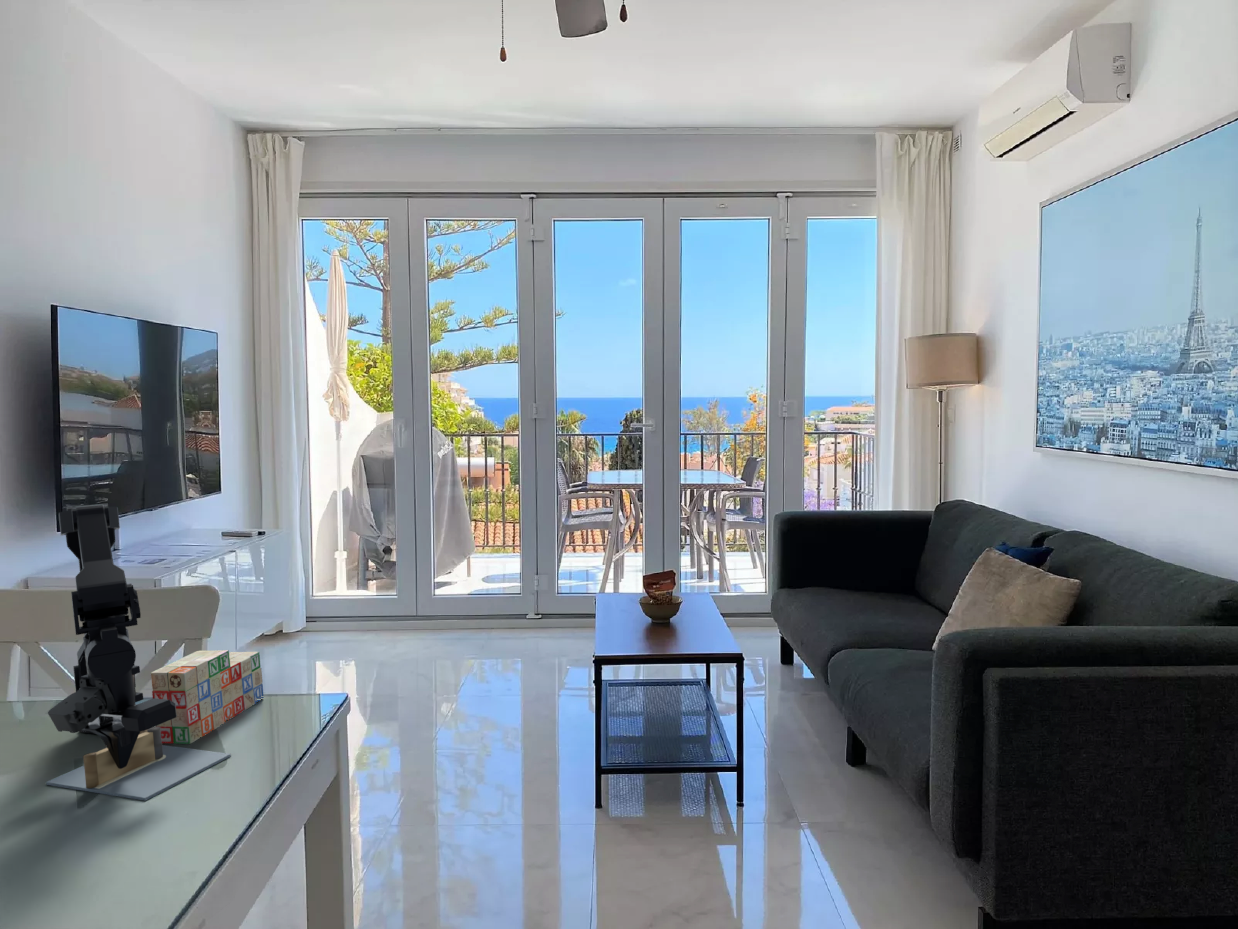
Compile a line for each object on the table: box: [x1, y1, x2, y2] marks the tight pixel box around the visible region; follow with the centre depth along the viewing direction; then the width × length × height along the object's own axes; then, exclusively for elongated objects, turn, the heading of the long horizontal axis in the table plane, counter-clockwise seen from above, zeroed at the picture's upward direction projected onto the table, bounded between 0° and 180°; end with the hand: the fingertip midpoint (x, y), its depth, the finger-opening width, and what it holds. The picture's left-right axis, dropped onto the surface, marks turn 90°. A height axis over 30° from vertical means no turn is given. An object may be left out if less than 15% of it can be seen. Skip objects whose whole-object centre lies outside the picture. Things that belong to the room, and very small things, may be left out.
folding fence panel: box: [82, 726, 163, 788], centre depth 130 cm, size 12×2×5 cm, turn 156°
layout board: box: [45, 744, 232, 802], centre depth 132 cm, size 20×16×1 cm
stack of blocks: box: [150, 649, 265, 745], centre depth 152 cm, size 21×6×12 cm, turn 170°
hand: (122, 767), depth 127 cm, fingers closed
